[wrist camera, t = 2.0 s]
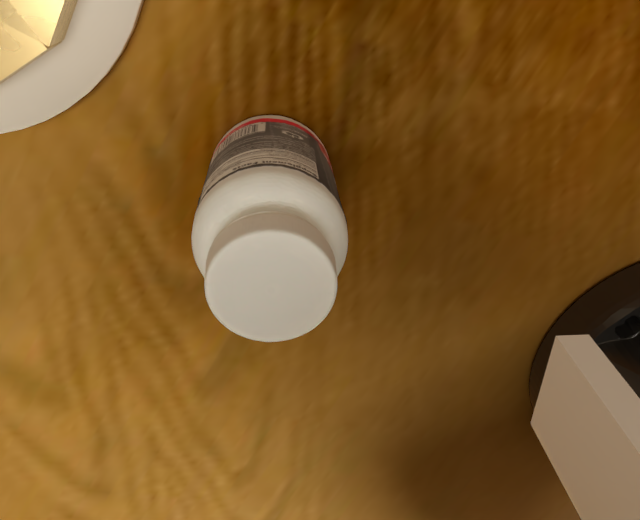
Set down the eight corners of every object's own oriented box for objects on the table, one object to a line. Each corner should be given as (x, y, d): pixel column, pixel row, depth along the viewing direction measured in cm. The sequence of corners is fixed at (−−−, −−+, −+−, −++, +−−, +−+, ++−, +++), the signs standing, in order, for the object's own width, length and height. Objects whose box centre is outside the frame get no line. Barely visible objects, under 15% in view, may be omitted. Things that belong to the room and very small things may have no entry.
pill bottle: (326, 226, 26) (351, 362, 18) (212, 223, 26) (182, 361, 17) (336, 114, 24) (370, 211, 15) (209, 108, 23) (171, 204, 15)
